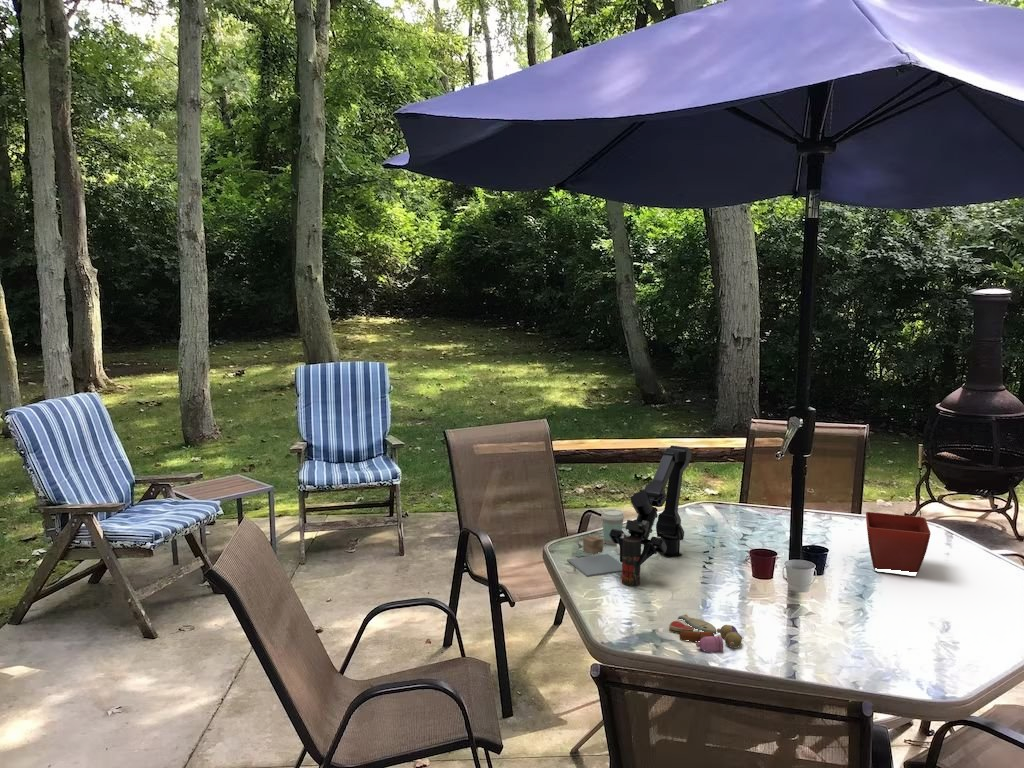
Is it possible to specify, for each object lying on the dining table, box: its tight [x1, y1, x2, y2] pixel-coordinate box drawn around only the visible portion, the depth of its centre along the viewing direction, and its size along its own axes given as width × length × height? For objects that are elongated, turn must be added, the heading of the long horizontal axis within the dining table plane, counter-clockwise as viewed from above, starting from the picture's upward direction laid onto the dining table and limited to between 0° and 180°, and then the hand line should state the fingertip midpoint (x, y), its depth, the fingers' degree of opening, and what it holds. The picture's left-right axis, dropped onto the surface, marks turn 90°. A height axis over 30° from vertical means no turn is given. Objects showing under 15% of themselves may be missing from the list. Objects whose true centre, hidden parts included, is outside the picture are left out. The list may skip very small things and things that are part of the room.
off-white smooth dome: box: [616, 544, 620, 555], centre depth 294 cm, size 7×7×4 cm
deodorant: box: [621, 535, 642, 588], centre depth 263 cm, size 6×6×15 cm
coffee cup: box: [600, 508, 625, 546], centre depth 303 cm, size 8×8×12 cm
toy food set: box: [668, 614, 743, 652], centre depth 224 cm, size 26×16×4 cm, turn 42°
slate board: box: [567, 553, 622, 578], centre depth 280 cm, size 16×16×1 cm
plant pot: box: [865, 511, 931, 573], centre depth 278 cm, size 19×19×17 cm
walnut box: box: [582, 534, 604, 555], centre depth 295 cm, size 5×5×5 cm
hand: (629, 563), depth 262 cm, fingers closed on deodorant, 6 cm apart
